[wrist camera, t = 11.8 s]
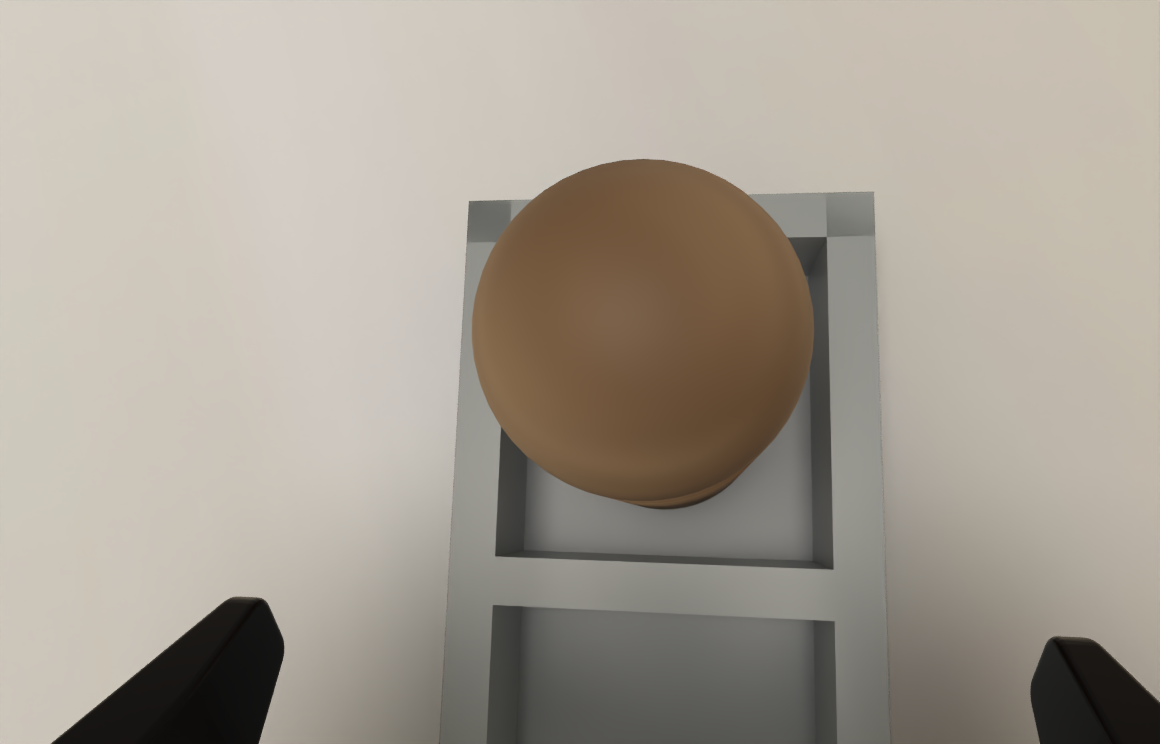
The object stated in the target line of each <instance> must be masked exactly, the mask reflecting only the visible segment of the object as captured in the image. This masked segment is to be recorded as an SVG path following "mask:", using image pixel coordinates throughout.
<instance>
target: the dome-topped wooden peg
mask: <svg viewBox="0 0 1160 744" xmlns="http://www.w3.org/2000/svg"><path fill="white" fill-rule="evenodd" d="M813 341H814V318H813V307H812V302H811V297H810V292H809V287H808V283H807V280H806V277H805V274H804V272H803V269H802V266H801V263H800V260H799V258H798V257H797V255H796V253H795V251H794V249H793V247H792V245H791V243H790V241H789V240H788V238H787V237H786V235H785V234H784V232H783V231H782V230H781V228H780V227H779V225H778V224H777V223H776V222H775V221H774V219H773V218H772V217H771V216H770V215H769V214H768V213H767V212H766V211H765V210H764V209H763V208H762V207H761V206H760V205H759V204H758V203H757V202H755V201H754V200H753V199H752V198H751V197H749V196H748V195H747V194H746V193H745V192H743V191H742V190H740V189H739V188H737V187H736V186H734V185H733V184H731V183H729V182H728V181H726V180H725V179H722V178H720V177H718V176H716V175H714V174H712V173H710V172H707V171H705V170H702V169H699V168H696V167H693V166H689V165H686V164H682V163H676V162H671V161H665V160H650V159H637V160H622V161H617V162H612V163H606V164H601V165H598V166H595V167H592V168H589V169H585V170H582V171H580V172H578V173H576V174H573V175H571V176H569V177H567V178H565V179H562V180H561V181H559V182H558V183H556V184H554V185H553V186H551V187H549V188H548V189H546V190H544V191H543V192H542V193H541V194H539V195H538V196H537V197H536V198H534V199H533V200H532V201H531V202H529V203H528V204H527V205H526V206H525V207H524V208H523V209H522V210H521V211H520V212H519V213H518V214H517V215H516V216H515V217H514V218H513V220H512V221H511V222H510V224H509V225H508V226H507V227H506V229H505V230H504V231H503V233H502V234H501V235H500V237H499V239H498V241H497V242H496V244H495V246H494V247H493V249H492V251H491V252H490V255H489V257H488V259H487V262H486V264H485V266H484V269H483V271H482V274H481V278H480V281H479V285H478V288H477V292H476V295H475V301H474V307H473V314H472V346H473V355H474V362H475V366H476V370H477V374H478V378H479V381H480V385H481V387H482V390H483V392H484V395H485V397H486V400H487V402H488V405H489V407H490V409H491V410H492V412H493V414H494V416H495V417H496V419H497V421H498V423H499V424H500V426H501V427H502V428H503V430H504V431H505V432H506V434H507V435H508V436H509V438H510V439H511V440H512V442H513V443H514V444H515V445H516V446H517V447H518V448H519V449H520V450H521V451H522V452H523V453H524V454H525V455H526V456H527V457H528V458H530V459H531V460H532V461H533V462H535V463H536V464H537V465H539V466H540V467H541V468H542V469H544V470H545V471H546V472H548V473H549V474H551V475H553V476H554V477H556V478H558V479H560V480H561V481H563V482H565V483H566V484H569V485H571V486H573V487H576V488H578V489H581V490H583V491H586V492H588V493H592V494H596V495H599V496H603V497H607V498H611V499H615V500H618V501H622V502H626V503H630V504H634V505H637V506H641V507H645V508H651V509H659V510H668V509H679V508H686V507H689V506H693V505H697V504H699V503H702V502H704V501H706V500H709V499H711V498H712V497H714V496H716V495H717V494H719V493H721V492H722V491H723V490H724V489H726V488H727V487H728V486H729V485H731V484H732V483H733V482H734V481H735V480H736V479H737V477H738V476H739V475H740V474H741V473H742V472H743V471H744V470H745V469H746V468H747V467H748V466H749V465H750V464H751V463H752V462H753V461H754V460H755V459H756V458H757V457H758V456H759V455H760V454H761V453H762V452H763V451H764V450H765V449H766V448H767V447H768V446H769V445H770V444H771V442H772V441H773V440H774V439H775V438H776V436H777V435H778V434H779V432H780V431H781V430H782V428H783V427H784V425H785V424H786V423H787V421H788V419H789V418H790V416H791V414H792V412H793V410H794V408H795V406H796V405H797V403H798V401H799V398H800V395H801V393H802V390H803V387H804V384H805V382H806V379H807V376H808V372H809V367H810V363H811V358H812V353H813Z"/></svg>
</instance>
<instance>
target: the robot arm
mask: <svg viewBox="0 0 1160 744" xmlns="http://www.w3.org/2000/svg"><path fill="white" fill-rule="evenodd" d="M283 656H284V641H283V637H282V635H281V632H280V630H279V628H278V625H277V623H276V621H275V619H274V616H273V614H272V612H271V609H270V607H269V605H268V603H267V602H266V601H265V600H264V599H262V598H257V597H232V598H230V599H228V600H226V601H224V602H223V603H222V604H221V605H219V606H218V607H217V608H216V609H214V610H213V611H212V612H211V613H210V614H208V615H207V616H206V617H205V618H203V619H202V620H201V621H200V622H199V623H197V624H196V625H195V626H194V627H193V628H191V629H190V630H189V631H188V632H186V633H185V634H184V635H183V636H182V637H180V638H179V639H178V640H177V641H175V642H174V643H173V644H172V645H171V646H169V647H168V648H167V649H166V650H164V651H163V652H162V653H161V654H160V655H158V656H157V657H156V658H155V659H153V660H152V661H151V662H150V663H149V664H147V665H146V666H145V667H144V668H143V669H141V670H140V671H139V672H138V673H136V674H135V675H134V676H133V677H132V678H130V679H129V680H128V681H127V682H125V683H124V684H123V685H122V686H121V687H119V688H118V689H117V690H116V691H114V692H113V693H112V694H111V695H110V696H108V697H107V698H106V699H105V700H104V701H102V702H101V703H100V704H99V705H97V706H96V707H95V708H94V709H93V710H91V711H90V712H89V713H88V714H86V715H85V716H84V717H83V718H82V719H80V720H79V721H78V722H77V723H75V724H74V725H73V726H72V727H71V728H69V729H68V730H67V731H66V732H64V733H63V734H62V735H61V736H60V737H58V738H57V739H56V740H55V741H54V742H52V743H51V744H259V741H260V737H261V734H262V730H263V727H264V723H265V720H266V716H267V713H268V709H269V706H270V702H271V699H272V696H273V692H274V689H275V685H276V682H277V678H278V675H279V671H280V668H281V664H282V661H283ZM1031 703H1032V708H1033V713H1034V717H1035V722H1036V726H1037V731H1038V736H1039V740H1040V744H1160V702H1159V701H1158V700H1157V699H1156V698H1155V697H1154V696H1153V695H1152V694H1151V693H1150V692H1149V691H1148V690H1146V689H1145V688H1144V687H1143V686H1142V685H1141V684H1140V683H1139V682H1138V681H1137V680H1136V679H1135V678H1134V677H1133V676H1132V675H1131V674H1130V673H1129V672H1128V671H1127V670H1126V669H1125V668H1124V667H1123V666H1122V665H1121V664H1119V663H1118V662H1117V661H1116V660H1115V659H1114V658H1113V657H1112V656H1111V655H1110V654H1109V653H1108V652H1107V651H1106V650H1105V649H1104V648H1103V647H1102V646H1101V645H1099V644H1098V643H1097V642H1095V641H1093V640H1091V639H1088V638H1081V637H1061V636H1056V637H1052V638H1051V639H1049V640H1048V641H1047V643H1046V645H1045V648H1044V650H1043V653H1042V655H1041V658H1040V660H1039V663H1038V666H1037V668H1036V671H1035V673H1034V676H1033V679H1032V682H1031Z"/></svg>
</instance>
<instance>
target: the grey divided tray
mask: <svg viewBox="0 0 1160 744" xmlns="http://www.w3.org/2000/svg"><path fill="white" fill-rule="evenodd" d="M748 196H749V197H751V198H752V199H753V200H754V201H755V202H757V203H758V204H759V205H760V206H761V207H762V208H763V209H764V210H765V211H766V212H767V213H768V214H769V215H770V216H771V217H772V218H773V219H774V221H775V222H776V223H777V224H778V225H779V227H780V228H781V230H782V231H783V232H784V234H785V235H786V237H787V238H788V240H789V241H790V243H791V245H792V247H793V249H794V251H795V253H796V255H797V257H798V258H799V260H800V263H801V266H802V269H803V272H804V274H805V277H806V280H807V283H808V287H809V292H810V297H811V302H812V307H813V318H814V341H813V353H812V358H811V363H810V367H809V372H808V376H807V379H806V382H805V384H804V387H803V390H802V393H801V395H800V398H799V401H798V403H797V405H796V406H795V408H794V410H793V412H792V414H791V416H790V418H789V419H788V421H787V423H786V424H785V425H784V427H783V428H782V430H781V431H780V432H779V434H778V435H777V436H776V438H775V439H774V440H773V441H772V442H771V444H770V445H769V446H768V447H767V448H766V449H765V450H764V451H763V452H762V453H761V454H760V455H759V456H758V457H757V458H756V459H755V460H754V461H753V462H752V463H751V464H750V465H749V466H748V467H747V468H746V469H745V470H744V471H743V472H742V473H741V474H740V475H739V476H738V477H737V479H736V480H735V481H734V482H733V483H732V484H731V485H729V486H728V487H727V488H726V489H724V490H723V491H722V492H721V493H719V494H717V495H716V496H714V497H712V498H711V499H709V500H706V501H704V502H702V503H699V504H697V505H693V506H689V507H686V508H679V509H668V510H659V509H651V508H645V507H641V506H637V505H634V504H630V503H626V502H622V501H618V500H615V499H611V498H607V497H603V496H599V495H596V494H592V493H588V492H586V491H583V490H581V489H578V488H576V487H573V486H571V485H569V484H566V483H565V482H563V481H561V480H560V479H558V478H556V477H554V476H553V475H551V474H549V473H548V472H546V471H545V470H544V469H542V468H541V467H540V466H539V465H537V464H536V463H535V462H533V461H532V460H531V459H530V458H528V457H527V456H526V455H525V454H524V453H523V452H522V451H521V450H520V449H519V448H518V447H517V446H516V445H515V444H514V443H513V442H512V440H511V439H510V438H509V436H508V435H507V434H506V432H505V431H504V430H503V428H502V427H501V426H500V424H499V423H498V421H497V419H496V417H495V416H494V414H493V412H492V410H491V409H490V407H489V405H488V402H487V400H486V397H485V395H484V392H483V390H482V387H481V385H480V381H479V378H478V374H477V370H476V366H475V362H474V355H473V346H472V314H473V307H474V301H475V295H476V292H477V288H478V285H479V281H480V278H481V274H482V271H483V269H484V266H485V264H486V262H487V259H488V257H489V255H490V252H491V251H492V249H493V247H494V246H495V244H496V242H497V241H498V239H499V237H500V235H501V234H502V233H503V231H504V230H505V229H506V227H507V226H508V225H509V224H510V222H511V221H512V220H513V218H514V217H515V216H516V215H517V214H518V213H519V212H520V211H521V210H522V209H523V208H524V207H525V206H526V205H527V204H528V203H529V202H531V201H532V200H496V201H469V211H468V229H467V247H466V265H465V284H464V302H463V320H462V338H461V357H460V375H459V393H458V412H457V430H456V448H455V466H454V485H453V503H452V521H451V539H450V558H449V576H448V594H447V612H446V631H445V649H444V667H443V686H442V704H441V722H440V740H439V744H891V738H890V705H889V672H888V640H887V607H886V574H885V542H884V509H883V476H882V443H881V411H880V378H879V345H878V313H877V280H876V247H875V214H874V192H838V193H795V194H752V195H748Z"/></svg>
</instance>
